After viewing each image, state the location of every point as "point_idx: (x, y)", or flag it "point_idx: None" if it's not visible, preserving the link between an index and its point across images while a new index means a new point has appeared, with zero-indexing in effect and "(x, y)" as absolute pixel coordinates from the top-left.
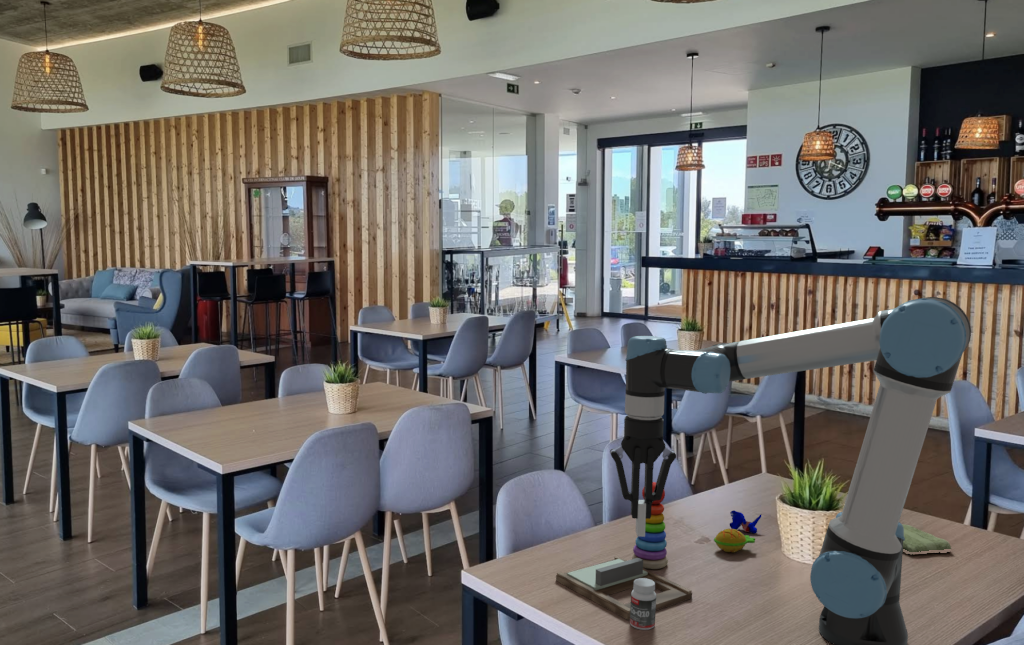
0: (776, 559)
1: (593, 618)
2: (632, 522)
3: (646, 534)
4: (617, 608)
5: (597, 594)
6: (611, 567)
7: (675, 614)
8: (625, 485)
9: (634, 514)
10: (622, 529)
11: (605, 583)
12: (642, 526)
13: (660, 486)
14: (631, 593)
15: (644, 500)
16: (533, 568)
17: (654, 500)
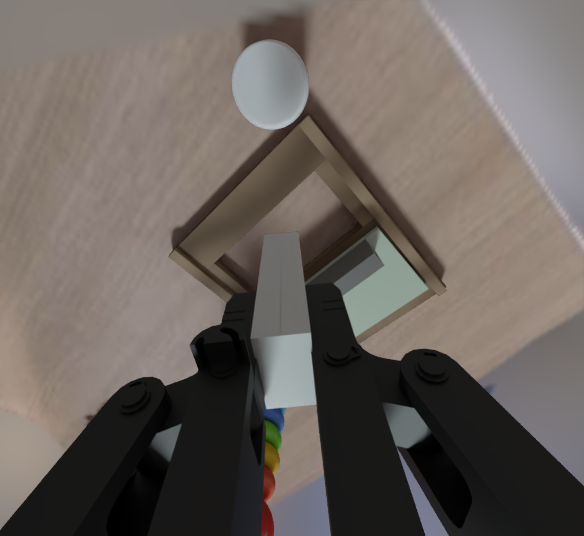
0: (51, 415)
1: (388, 107)
2: (286, 483)
3: (264, 412)
4: (332, 142)
5: (375, 200)
6: (345, 282)
7: (200, 165)
8: (522, 493)
9: (325, 296)
10: (302, 464)
11: (354, 249)
12: (276, 255)
13: (48, 531)
14: (308, 81)
15: (263, 394)
16: (473, 323)
17: (182, 381)
